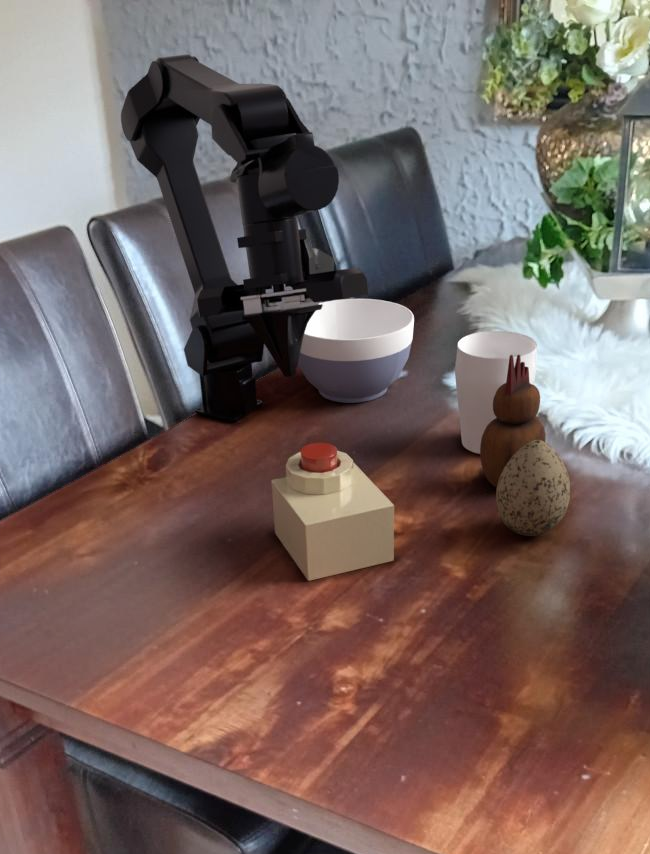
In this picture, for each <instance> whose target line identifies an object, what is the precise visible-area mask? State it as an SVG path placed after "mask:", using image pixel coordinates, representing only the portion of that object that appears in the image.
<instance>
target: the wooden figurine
mask: <svg viewBox="0 0 650 854" xmlns="http://www.w3.org/2000/svg"><path fill="white" fill-rule="evenodd" d="M540 405H541V393H540V390H539V389H538V387H537V386H536V385H535V384H534V383H533V384H531V383H529V368H528V367H525V362H521V360H520V355H517V359H516V364H515V368H514V360H513V355H510V358H509V365H508V373H507V381H506V383H505V384H503V385H501V386H500V387H499V388H498V389H497V391H496V394H495V396H494V399H493V412H494V414H495V416H496V417H497V418H495V419H494V420H492V421H491V422H490V423H489V424H488V425H487V427H486V429H485V431H484V433H483V435H482V439H481V445H480V454H479V456H480V457H479V458H480V465H481V467H482V468H481V469H482V470H483V473H484V475H485V477H486V480H487V481H488V482H489V483H490V484H491V485H492V486H493V487H495V488H497V485H498V481H499V478H500V476H501V473H502V471H503V469H504V467H505V466H506V464H507V463H508V461H509V460H510V459H511V457H512V456H513V455H514V454H515V453H516V452H517V451H518V450H519V449H520V448H522V447H523V446H524V445H526V444H527V443H529V442H531V441H533V440H541V441H544V442H547V441H546V439H547V435H546V430H545V426H544V424H543V423H542V421H541V419H540V418H539V417H538V413H539V410H540Z"/></svg>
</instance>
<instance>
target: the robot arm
mask: <svg viewBox="0 0 650 854" xmlns="http://www.w3.org/2000/svg"><path fill="white" fill-rule="evenodd" d="M200 120H202V121H204V122H205V123H207V124H209V126H210V127H211V140H213V141H214V142H215V143H216V145H217V146H219V148H220V149H221V150H222V151H223V152H224V153H225V154H226V155H227V156H230V157H231V158H232V159H233V160H234V161H235V162H236V165H235V166H234V167H233V169H232V170H231V174H230V177H229V178H230V182H231V183H236V186H237V192H238V200H239V207H240V214H241V222H242V229H243V236H239V237H237V238H236V240H237V245H238V246H237V247H238V249H245V250H246V259H247V265H248V273H249V278H245V279H242V281H243V283H241V284H238V283H237V282H236V281H235V280H233V278H232V277H231V273H230V270H229V268H228V264H227V261H226V258H225V254H224V252H223V249H222V245H221V243H220V240H219V236H218V234H217V230H216V226H215V224H214V221H213V218H212V215H211V212H210V208H209V206H208V202H207V199H206V196H205V193H204V191H203V187H202V185H201V181H200V178H199V175H198V172H197V169H196V166H195V162H194V159H195V153H196V150H197V145H198V141H199V131H198V127H197V126H198V124H199V122H200ZM120 123H121V129H122V133H123V135H124V137H125V139H126V140H127V141H128V142H129V144H130V146H131V149H132V151H133V153H134V156H135V159H136V161H138V163H139V164H141V165H142V166H143V167H144V168H145V170H147V171H148V172H149V173H151V174H152V176H154V177H155V178H156V181H157V182H158V187H159V190H160V192H161V195H162V198H163V202H164V204H165V207H166V210H167V213H168V217H169V220H170V223H171V226H172V228H173V229H172V230H173V231H174V234H175V238H176V240H177V244H178V247H179V249H180V253H181V256H182V259H183V263H184V265H185V268H186V272H187V274H188V278H189V280H190V284H191V286H192V289H193V294H194V297H193V303H192V307H191V312H190V316H189V323H190V326H191V329H192V330H191V332H190V334H189V337H188V339H187V341H186V342H185V346H184V347H183V352H184V356H185V360H186V365H187V367H188V368H190V369H191V370H193V372H196V373H197V374H199V385H200V393H201V401H202V405H200V406H199V407H197V408H196V409H195V410H194V412H195V414H196V415H199V416H200V415H201V416H204V417H209V418H214V419H218V420H222V421H225V422H230V423H236V422H238V421H239V420H241V419H243V418H244V417H246V416H248V415H249V414H251V413H252V412H254V411H256V410H257V409H259V408H260V407H262V406H263V400H261V399H258V395H257V383H256V376H254V375H253V363H261V362H263V357H264V349H265V347H266V349H267V351H268V352H269V354H270V356H271V357H272V359H273V360H274V362H275V363H276V364H275V365H277V367H278V369H279V370H280V372H281V374H282V375H283V377H285V378H292V377H295V376H296V375H297V369H298V367H299V365H298V361H299V356H300V351H301V346H302V341H303V337H304V333H305V330H306V327H307V324H308V322H309V320H310V318H311V317H312V315H313V314H314V312H315V311H316V310H321V309H322V306H323V304H320V305H319V303H322V302H327V301H333V300H342V299H352V298H357V297H361V296H368V295H369V288H368V278H367V276H366V274H365V273H364V272H363V270H362V269H361V267H351V268H343V269H337V270H335V258H334V257H333V256H331V255H329V254H328V253H325V252H323V251H322V250H321V249H319V248H316V247H312V246H311V244H310V242H309V234H308V233H307V230H306V228H302V229H300V228H299V221H298V216H301V215H305V214H308V213H312V212H316V211H319V210H322V209H325V208H326V207H328V206H329V205H330V204H331V203H332V202H333V200H334V199H335V197H336V195H337V192H338V190H339V184H340V179H339V178H340V177H339V176H340V175H339V169H338V167H337V166H336V164H335V162H334V160H333V158H332V157H331V156H330V154H329V153H328V152H327V151H326V150H325V149H323V148H321V147H320V146H318V145H315V140H314V134H313V132H312V131H310V130H309V129H308V128H307V126H306V125H305V124H304V123H303V121H302V120H301V118H300V116H299V115H298V113H297V111H296V109H295V108H294V106H293V104H292V102H291V100H289V98H288V96H287V94H286V92H285V91H284V90H283V88H281V87H280V86H279V85H277V84H270V83H239V82H237V81H235V80H233V79H231V78H229V77H228V76H225V75H223V74H221V73H220V72H218V71H216V70H214V69H213V68H210V67H209V66H207V65H205V64H203V63H201V62H200V61H199V59H198V57H197V56H195V55H193V56H191V54H189V53H188V54H178V55H171V56H170V55H169V56H161V57H157V58H156V60H152V62H151V63H150V65H149V67H148V71H147V73H146V74H145V75H144V76H143V77H142V78H141V79H140V80H139V81H138V82H136V83H135V84H134V85H133V86H132V87H131V88H130V89H128V91H127V93H126V95H125V99H124V102H123V105H122V108H121V111H120ZM287 287H288V288H289V287H290V288H291V289H289V290H286V289H285V288H287ZM267 290H272V291H273V292H268V293H267ZM280 303H281V304H280ZM281 306H282V308H281Z"/></svg>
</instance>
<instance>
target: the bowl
mask: <svg viewBox="0 0 650 854" xmlns="http://www.w3.org/2000/svg"><path fill="white" fill-rule="evenodd" d="M318 303H319V305H320V304H323V306H322V309H321V310H316V311H315V312H314V314H313V315H312V317H311V318H310V320H309V322H308V324H307V327H306V330H305V333H304V337H303V341H302V346H301V351H300V356H299V361H298V367H299V369H300V370H301V372H302V374H303V375H304V377H305V379H306V381H307V382H308V383H309V384H311V385H312V386H313V387H314V388H316V389H317V390H318V393H319V394H320V396H322V397H323V398H325V399H327V400H329V401H332V402H336V403H337V402H338V403H342V404H343V403H346V404H354V403H355V404H356V403H365V402H370V401H373V400H376V399H378V398H380V397H382V396H384V394H386V392H387V390H388V388H389V386H391V385H392V384H393V383H394V382H395V381H396V380H397V379H398V378H399V376H400V375H401V374H402V371H403V369H404V367H405V366H406V364H407V361H408V359H409V357H410V353H411V348H412V342H413V340H414V338H413V337H414V324H415V315H414V314H413V312H412V311H411V309H409V308H408V307H406V306H404V305H402V304H399V303H396V302H392V301H387V300H383V299H374V298H345V299H338V300H331V301H323V302H318Z"/></svg>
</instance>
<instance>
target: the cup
mask: <svg viewBox="0 0 650 854" xmlns="http://www.w3.org/2000/svg"><path fill="white" fill-rule="evenodd" d="M537 349H538V344H537V341H536V340H535V339H534V338H532V337H530V336H528V335H526V334H523V333H519V332H514V331H508V330H507V331H505V330H487V331H480V332H474V333H470V334H468V335H465V336H463V337H462V338H460V339H459V341H458V342H457V349H456V357H455V366H454V376H455V387H456V397H457V407H458V417H459V429H460V437H461V445H462V446H463V448H465V449H466V450H468V451H470V452H471V453H474V454H477V455H480V445H481V439H482V435H483V433H484V431H485V429H486V427H487V425H488V424H489V423H490V422H491V421H492V420H494V419H495V418H497V417H496V416H495V414H494V412H493V399H494V396H495V394H496V391H497V389H498V388H499V387H500V386H501V385H503V384H505V383H506V381H507V373H508V365H509V358H510V355H513V360H514V368H515V364H516V359H517V355H520V360H521V362H525V367H528V368H529V383H531V384H533V385H534V383H535V380H536V379H535V378H536V373H537Z"/></svg>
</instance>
